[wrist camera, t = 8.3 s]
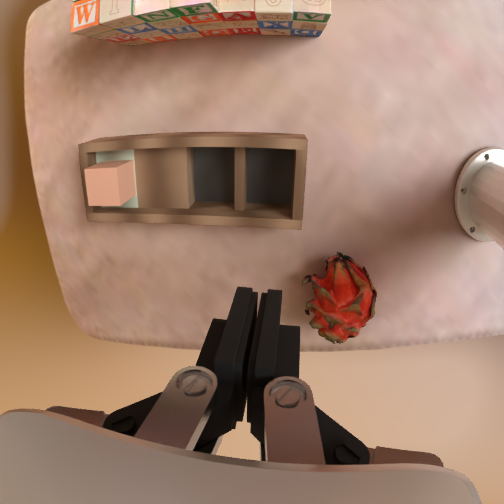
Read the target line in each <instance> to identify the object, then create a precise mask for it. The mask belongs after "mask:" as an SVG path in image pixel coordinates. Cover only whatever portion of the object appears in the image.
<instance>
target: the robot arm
mask: <svg viewBox="0 0 504 504" xmlns="http://www.w3.org/2000/svg"><path fill="white" fill-rule="evenodd" d="M454 201H455V210H456V215H457V218H458V220H459V223H460V225H461V226H462V227H463V229H464V230H465V231H466V232H467V233H468V234H469V235H470V236H471V237H473V238H474V239H476V240H479V241H483V242H491V241H495V242H496V243H497V244H499V245H500V246H501V247H502V248H503V249H504V149H501V148H498V147H489V148H485V149H482V150H480V151H478V152H476V153H475V154H474V155H473V156H472V157H471V158H470V159H469V160H468V161H467V163H466V164H465V165H464V167H463V169H462V171H461V172H460V175H459V178H458V180H457V184H456V189H455V199H454ZM257 301H258V292H253V290H252V288H247V287H237V290H236V293H235V296H234V299H233V303H232V306H231V309H230V312H229V315H228V318H227V320H223V319H213V320H212V323H211V325H210V328H209V331H208V333H207V336H206V339H205V341H204V344H203V347H202V350H201V352H200V355H199V358H198V360H197V363H196V366H189V367H186V368H183V369H181V370H179V371H178V372H176V373H175V375H174V376H173V377H172V379H171V380H170V382H169V383H168V385H167V386H166V388H165V389H164V391H163V392H161V393H158V394H156V395H153V396H151V397H149V398H146V399H144V400H141V401H139V402H136V403H134V404H132V405H129V406H127V407H124V408H121V409H119V410H116V411H114V412H113V413H111V414H110V415H108V414H105V412H104V411H94V410H86V409H77V408H69V407H62V406H53V407H50V408H48V409H46V410H39V409H14V410H9V411H6V412H4V413H3V414H1V415H0V504H482V503H481V500H480V498H479V495H478V492H477V490H476V488H475V486H474V485H473V483H472V482H471V481H470V479H469V478H468V477H466V476H465V475H463V474H461V473H459V472H457V471H454V470H452V469H448V468H444V467H443V463H442V461H441V460H440V458H439V457H437V456H436V455H434V454H431V453H426V452H417V451H408V450H400V449H392V448H385V447H379V446H377V447H376V448H375V449H373V448H367V447H366V446H365V445H364V444H363V443H362V442H361V441H360V440H358V439H357V438H356V437H355V436H353V435H352V434H351V433H349V432H348V431H347V430H346V429H344V428H343V427H342V426H340V425H339V424H338V423H337V422H335V421H334V420H333V419H332V418H330V417H329V416H328V415H326V414H325V413H324V412H323V411H322V410H320V409H319V408H318V407H317V406H315V405H314V400H313V394H312V391H311V389H310V387H309V385H308V384H307V383H306V382H304V381H302V380H301V379H299V356H300V326H288V325H280V314H281V302H282V290H271V289H268V292H267V293H262V295H261V300H260V305H259V311H258V316H257ZM246 400H247V422H249V423H251V433H252V434H253V435H254V436H255V437H256V438H257V440H259V442H260V461H256V460H247V459H239V458H232V457H225V456H218V455H216V452H217V450H218V447H219V445H220V443H221V441H222V435H224V434H225V433H227V432H229V431H231V430H232V429H235V427H236V422H237V421H241V422H242V421H243V416H244V411H245V405H246Z"/></svg>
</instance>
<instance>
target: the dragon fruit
mask: <svg viewBox="0 0 504 504" xmlns="http://www.w3.org/2000/svg"><path fill="white" fill-rule="evenodd" d="M338 255H339V256H338ZM340 257H341V258H343V262H341V260H340V259H341V258H340ZM328 258H329V257H328ZM326 263H327V266H326V271H328V272H327V275H326V277H325V278H324V279H321V278H319V277H318V276H317V275H316V274H314V275H308V276H305V278H304V279H303V281H302V285H304V284H306V283H308V282H312V285H313V286H314V287H313V288H312V289H313V290H314V293H315V295H316V300H311V301H309V302H307V303H306V309H305V313H306V314H307V315H310V314H309V310H310V311H312V312H313V313H314V314H315V315H316V316H315V317H314V318H313V319H312V320H311V322H310V323H309V324H310V325H311V326H312V328H316V329H319V331H318V333H319V335H320V336H322V337H325V339H326V340H329V341H331V342H332V343H333V344H335V341H336V342H337V343H339V344H340V343H343V342H345V341H346V340H347V338H354V337H356V336H357V335H358V334H359V329H360V328H361V327H364V326H366V322H367V321H368V320H370V319H371V318H372V317H373V316H374V314H375V310H374V307H375V301H376V297H377V292H376V290H375V288H374V287H373V284H372V282H371V280H370V278H369V275H368V273H367V271H366V269H365V268H364V267H363V269H362V268H361V267H360V266H359V265H358V264H356V263H355V262H354V260H353V259H352V258H351V257H349V256H346V255H344V256H343V254H342V253H339V252H337V255H335V256H333V257H331V258H330V259H328V260H327V261H326ZM326 271H325V272H326Z"/></svg>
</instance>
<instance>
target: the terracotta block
mask: <svg viewBox="0 0 504 504" xmlns="http://www.w3.org/2000/svg"><path fill="white" fill-rule="evenodd" d="M84 172H85V181H86V189H87V197H88V204H89V206H121V205H123V204H124V203H125V202H127V201H128V200H129V199H131V198H132V197H134V196H135V195H136V187H135V175H134V161H133V160H116V161H102V162H100V163H98V164H95V165H93V166H91V167H88V168H86V169H84Z"/></svg>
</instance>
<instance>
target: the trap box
mask: <svg viewBox="0 0 504 504" xmlns="http://www.w3.org/2000/svg"><path fill="white" fill-rule="evenodd" d="M307 143H308V140H307V138H306V137H305V135H300V134H283V133H259V132H182V133H158V134H142V135H128V136H116V137H105V138H99V139H95V140H92V141H89V142H85V143H82V144H79V145H78V146H79V157H80V167H81V176H82V185H83V192H84V200H85V206H86V213H87V219H88V221H101V222H139V223H169V224H195V225H219V226H240V227H260V228H279V229H297V230H302V218H303V205H304V191H305V177H306V161H307ZM116 160H133V161H134V175H135V187H136V195H135V196H134V197H132V198H131V199H129V200H128V201H127V202H125V203H124V204H123V205H121V206H89V204H88V197H87V189H86V181H85V172H84V169H86V168H88V167H91V166H93V165H95V164H98V163H100V162H102V161H116Z"/></svg>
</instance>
